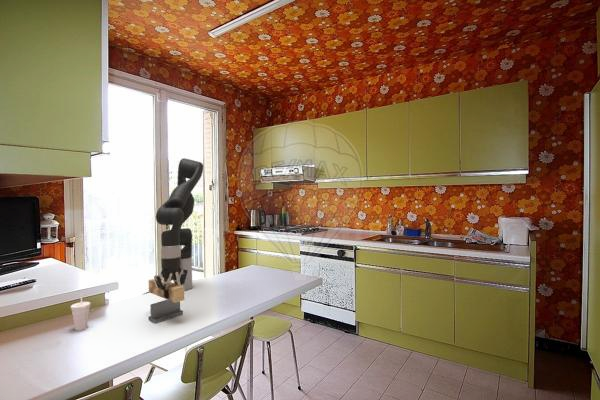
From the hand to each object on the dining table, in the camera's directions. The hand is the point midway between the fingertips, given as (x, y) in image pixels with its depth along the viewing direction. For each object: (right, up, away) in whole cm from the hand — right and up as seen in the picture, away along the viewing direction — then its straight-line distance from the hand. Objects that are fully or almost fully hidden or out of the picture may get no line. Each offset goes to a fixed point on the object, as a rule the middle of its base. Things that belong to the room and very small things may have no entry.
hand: (171, 296), depth 127 cm
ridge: (-4, -10, +3) cm, 11 cm away
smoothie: (-33, -11, -7) cm, 35 cm away
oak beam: (-4, -1, +3) cm, 5 cm away
